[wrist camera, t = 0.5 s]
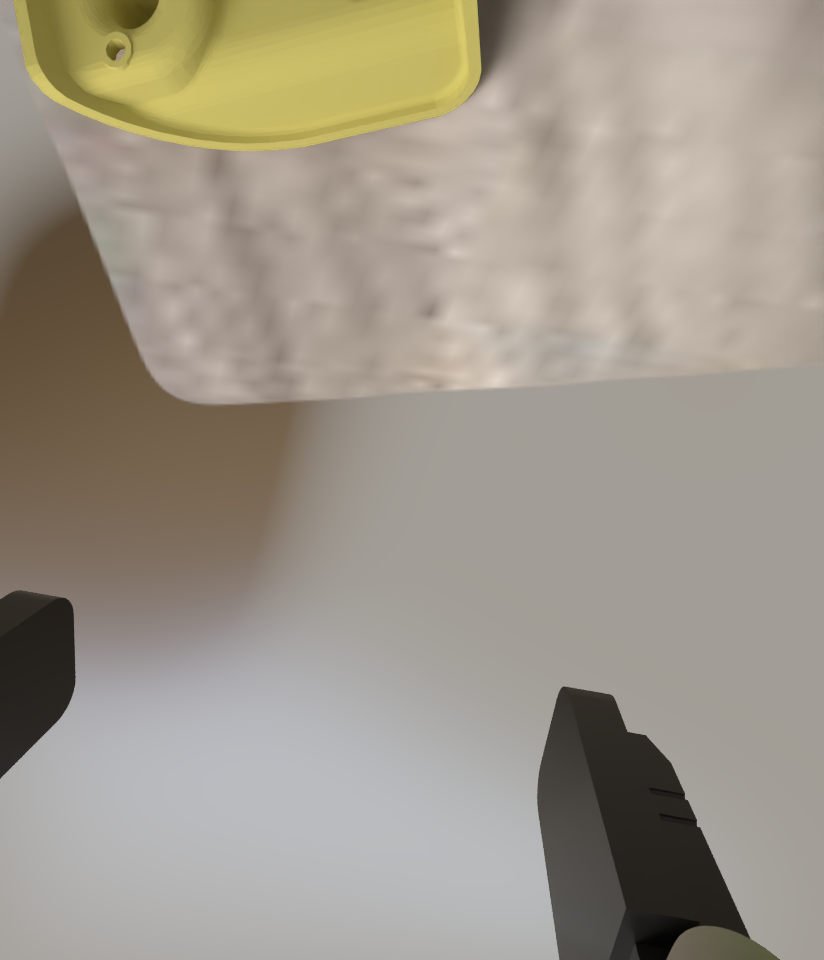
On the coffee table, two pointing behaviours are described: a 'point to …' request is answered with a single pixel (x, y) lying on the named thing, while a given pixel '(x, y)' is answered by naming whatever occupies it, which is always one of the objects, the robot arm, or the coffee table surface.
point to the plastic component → (253, 65)
